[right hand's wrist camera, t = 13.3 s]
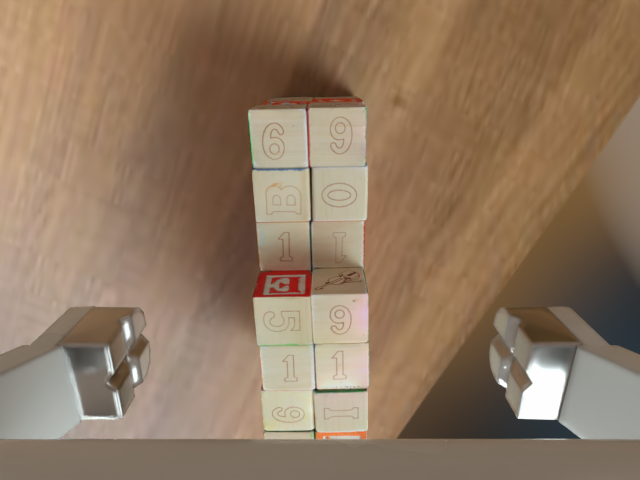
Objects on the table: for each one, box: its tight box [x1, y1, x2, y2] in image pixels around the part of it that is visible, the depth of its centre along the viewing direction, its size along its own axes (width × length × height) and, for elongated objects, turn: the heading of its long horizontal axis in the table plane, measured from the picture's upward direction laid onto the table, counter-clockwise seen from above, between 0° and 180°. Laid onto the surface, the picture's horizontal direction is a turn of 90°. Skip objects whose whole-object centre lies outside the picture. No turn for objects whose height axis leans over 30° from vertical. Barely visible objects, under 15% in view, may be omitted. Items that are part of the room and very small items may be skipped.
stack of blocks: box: [248, 96, 369, 439], centre depth 29 cm, size 21×6×12 cm, turn 1°
